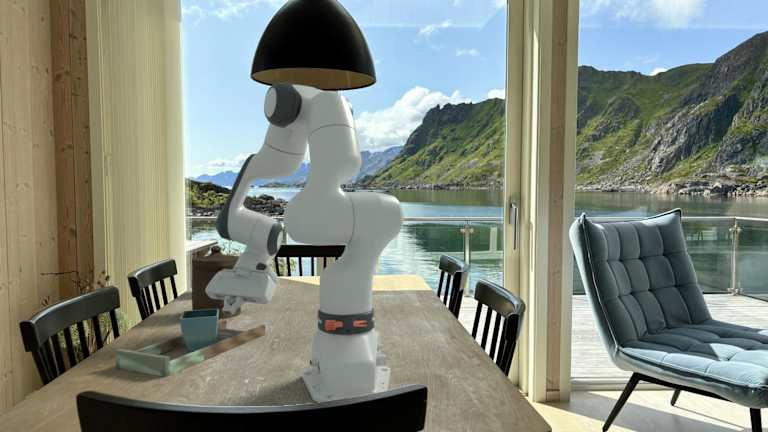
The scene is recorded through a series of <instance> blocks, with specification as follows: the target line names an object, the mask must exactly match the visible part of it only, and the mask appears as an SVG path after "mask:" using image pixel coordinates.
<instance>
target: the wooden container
mask: <svg viewBox="0 0 768 432" xmlns="http://www.w3.org/2000/svg"><path fill="white" fill-rule="evenodd" d="M222 250H223V248H222V247H221V246H219V245H213V246H211V247H210V253H209V254H208V255H203V256H196V257H195V256H194V257H193V258H192V259H191V267H192V268H191V304H192V305H191V307H192V308H191V311H192V310H206V309H219V318H222V319H228V317H229V318H232V316H233V317H236V316H239V315H240V314H241V313H242V306H241V307H239V308H238V309H237V310H236V311H235V313H234V314H225V313H223V312H222V309H223V307H224V300H221V299H212V298H210V297H209V296H208V295H207V293H206V291H205V289H206V287H207V285H208V284H209V282H210V281H211V280H212V278H213V277H214V276H215V275H216V274H217V273H218V272H219V271H222V270H223V269H228V270H231V269H233V268H234V266H235V264H236V262H237V261H238V259H239V257H238V256H232V255H224V254H223V253H222ZM235 302H236V301H233V302H232V303H230V306H231V305H233V304H234V303H235Z"/></svg>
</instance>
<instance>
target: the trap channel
mask: <svg viewBox="0 0 768 432" xmlns="http://www.w3.org/2000/svg"><path fill="white" fill-rule="evenodd" d="M265 335H266V325H264V324H261V325H258V326H256V327H253V328H251V329H248V330H246V331H245V330H237V329H230V328H227V320H221V321H220V320H219V321H218V330H217V336H216V340H215V343H214V344H212V345H209V346H207V347H204V348H202V349H199V350H197V351H194V352H189V353H186V354H184V355H182V356H180V357H177V358H175V359H172V360H170V356H168V355H162V354H164V353H163V352H165V353H167V352H169V351H168V350H170V351H172V350H171V349H173V350H175V349H174V348H176V347H178V348H180V347H179V346H181V347H183V346H182V345H184V344H185V343H184V340H183V337H182V334H179V335H177V336H174V337H171V338H168V339H164V340H162V341H158V342H156V343H153V344H151V345H148V346H145V347H142V348H141V347H140V348H139V349H135V350H129V349H124V348H119V349H116V350H115V363H116V364H115V365H116V369H118V370H123V371H124V370H125V371H131V372H136V373H142V374H149V375H153V376H159V377H164V378H165V377H169V376H171V375H174V374H175V373H178V372H180V370H181V371H183V370H185V369H187V368H186V367H188V368H190V367H192V366H194V365H193V364H195V365H196V363H197V364H199V363H202V362H204V361H206V360H208V359H207V358H209V359H211V358H213V357H212V356H214V357H215V355H216V356H218V355H220V354H219V353H221V354H222V352H223V353H225V352H227V350H228V351H230V350H232V349H235V348H237V347H239V346H242V345H243V344H246V343H249V342H251V341H254V340H255V339H258V338H261V337H263V336H265ZM184 346H185V345H184ZM236 346H237V347H236ZM234 347H235V348H234ZM176 349H177V348H176ZM229 349H230V350H229ZM166 351H167V352H166ZM224 351H225V352H224ZM160 353H162V354H160ZM158 354H159V355H158ZM217 354H218V355H217ZM210 357H211V358H210ZM205 359H206V360H205ZM203 360H204V361H203ZM201 361H202V362H201ZM198 362H199V363H198ZM191 365H192V366H191ZM189 366H190V367H189ZM184 368H185V369H184ZM182 369H183V370H182ZM173 373H174V374H173Z"/></svg>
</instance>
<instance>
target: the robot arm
mask: <svg viewBox="0 0 768 432" xmlns="http://www.w3.org/2000/svg"><path fill="white" fill-rule="evenodd" d="M264 97H265V98H264V102H263V111H264V116H265V118H266V120H267V121H268V123H269V125H268V128H267V130H266V133H265V137H264V141H263V144H262V146H261V148H260V149H259V150H258V151H257V152H256V153H252V154H251V153H250V155H249V156H248V157H247V158H246V159H245V160H244V162H243V164H242V166H241V167H240V170H239V172H238V174H237V176H236V178H235V180H234V182H233V184H232V187H231V189H230V192H229V193H228V195H227V198H226V200H225V202H224V204H223V206H222V207H221V210H220V211H219V213H218V215H217V217H216V218H215V219H216V220H215V224H214V227H215V229H216V232H217V234H218V235H219V236H220V238H221V239H224V240H228V241H232V242H236V243H239V244H242V245H245V249H244V251H243V252H241V253H242V254H241V255H240V257H239V259H238V261H237V262H236V264H235V266H234V268H233V269H231V270H228V269H223V270H222V271H219V272H218V273H217V274H216V275H215V276H214V277H213V278H212V280H211V281H210V282H209V284H208V285H207V287H206V289H205V291H206V293H207V295H208V296H209V297H210V298H212V299H221V300H224V307H223V309H222V312H223V313H225V314H234V313H235V311H236V310H237V309H238V308H239V307H241V308H242V306H243V305H244V303H249V304H261V305H268V304H269V303H270V302H271V301H272V299H273V297H274V295H275V292H276V289H277V286H276V285H277V284H278V283H279V281H280V278H279V277H278V275H277V273H276V272H275V270H274V269H273V268H272V266H271V265H270V264H271V262H272V261H273V260H274V258H275V257H276V255H277V254H278V252H279V251H280V248H281V247H282V245H283V242H284V240H285V231H286V234H287V236H289V238H290V239H291V240H292V241H293V242H294V243H297V244H298V243H299V244H305V245H311V246H331V245H333V246H334V245H345V247H344V250H343V253H342V254H341V255H340V257H339V258H338V259H336V260H334V261H333V262H331V263H330V264H328V265H327V266H326V267H324V269H323V270H322V272H321V274H320V275H319V308H318V310H317V318H316V320H317V327H318V329H317V330H316V332H315V333H314V334H312V336H311V337H310V361H309V365H310V368H308V369H304V370H302V371H301V379H302V381H303V383H304V384H305V387H306V388H307V390H308V392H309V394H310V397H311V398H312V401H314V402H317V403H321V401H329V400H335V399H341V398H349V397H354V396H361V395H367V394H372V393H378V392H383V391H387V390H388V391H389V385H390V377H391V368H390V367H389V366H387V363H386V361H387V359H386V358H387V355H386V354H381V351H384V344H383V343H381V334H380V332H378V331H377V330H376V328H375V309H374V308H373V285H374V283H373V282H374V274H375V269H376V265H377V263H378V260H379V258H380V256H381V255H382V253H383V252H384V250H385V249H386V247H387V246H388V245H389V244H390V243H391V242H392V241H393V240H394V239H396V238H397V237H398V235H399V234H400V233H401V231H402V229H403V225H404V220H405V216H404V215H405V213H404V209H403V207H402V204H401V203H400V201H399V199H397V197H395V196H394V195H391V194H386V193H381V192H377V191H376V192H375V191H343V189H342V186H341V185H342V184H345V183H346V182H348V181H350V180H351V179H353V178H354V177H356V175H358V173H359V172H360V170H361V168H362V163H363V162H362V161H363V159H362V154H361V153H362V152H361V149H360V143H359V137H358V136H359V135H358V131H357V126H356V123H355V120H354V109H353V106H352V103H351V101H350V100H349V99H347V98H346V97H344V95H342V94H341V93H339V92H337V91H333V90H322V89H318V88H316V87H313V86H310V85H301V84H292V83H290V82H284V81H283V82H275V83H273V84H272V85H271V86H270V87H269V88H268V90H267V92H266V94H265V96H264ZM307 148H308V151H309V152H308V153H309V163H310V165H309V166H310V170H309V176H308V178H307V181H306V183H305V185H304V186H303V188H302V189H301V190H300V191H298V192H297V194H295V195H293V196H292V197H291V198H290V200H289V201H288V202H287V204H286V206H285V207H284V208H285V209H284V210H283V219H282V220H283V226H284V228H283V226H282V223H281V222H280V220H278V219H276V218H274V217H272V216H269V215H266V214H263V213H259V212H257V211H253V210H251V209H248V208H247V207H246V206H244V202H245V200H246V197H247V196H248V193H249V191H250V189H251V187H252V186H253V185H252V184H254V182H255V181H258V180H279V179H284V178H288V177H290V176H293V175H294V174H296V173H297V172H298V171H299V170H300V169H301V166H302V164H303V161H304V159H305V155H306V152H307ZM284 229H285V230H284ZM233 301H236V302H235V303H234V304H233V305H231V306H230V303H232V302H233Z"/></svg>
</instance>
